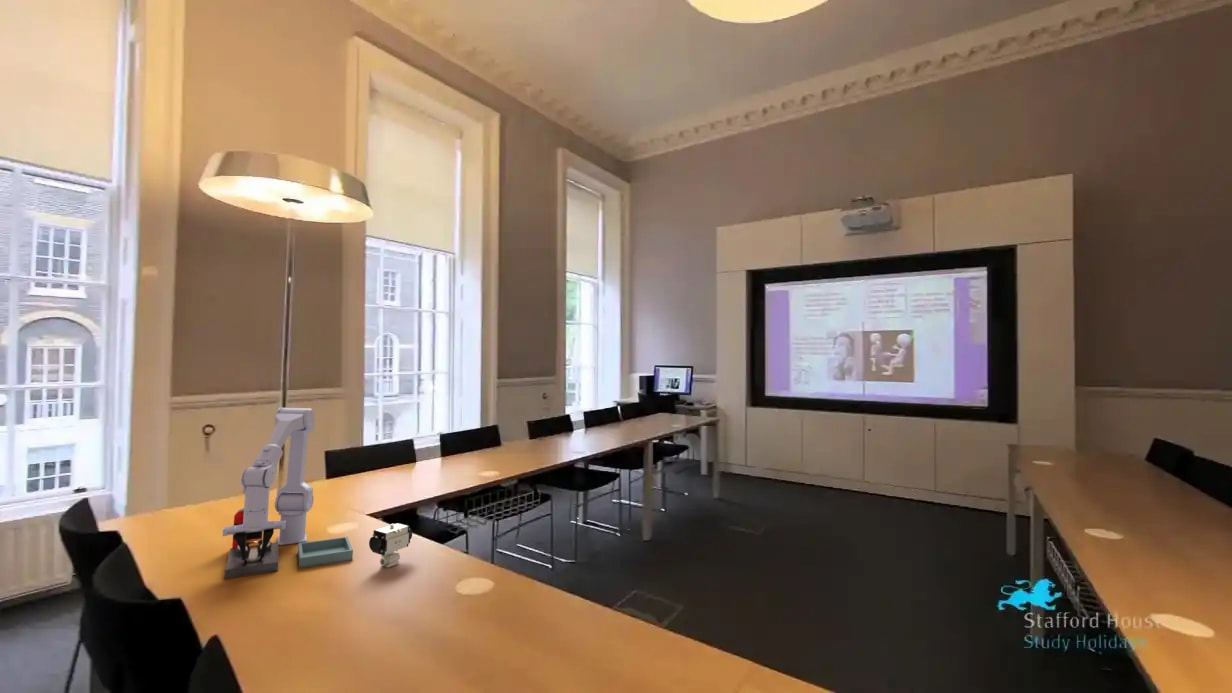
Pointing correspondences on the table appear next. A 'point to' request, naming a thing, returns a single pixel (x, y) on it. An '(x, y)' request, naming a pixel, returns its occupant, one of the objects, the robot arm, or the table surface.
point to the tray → (324, 552)
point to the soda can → (249, 536)
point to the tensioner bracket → (240, 568)
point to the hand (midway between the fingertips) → (253, 557)
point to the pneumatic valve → (390, 542)
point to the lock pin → (253, 550)
